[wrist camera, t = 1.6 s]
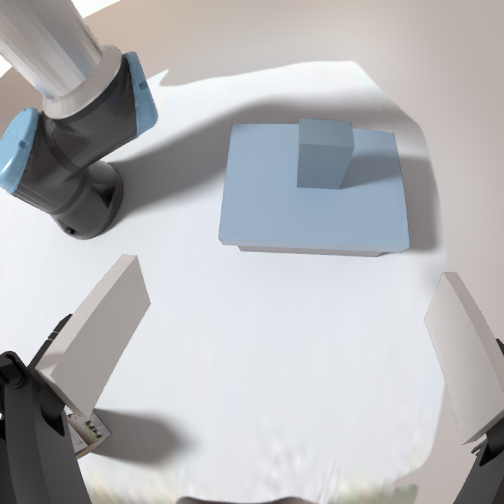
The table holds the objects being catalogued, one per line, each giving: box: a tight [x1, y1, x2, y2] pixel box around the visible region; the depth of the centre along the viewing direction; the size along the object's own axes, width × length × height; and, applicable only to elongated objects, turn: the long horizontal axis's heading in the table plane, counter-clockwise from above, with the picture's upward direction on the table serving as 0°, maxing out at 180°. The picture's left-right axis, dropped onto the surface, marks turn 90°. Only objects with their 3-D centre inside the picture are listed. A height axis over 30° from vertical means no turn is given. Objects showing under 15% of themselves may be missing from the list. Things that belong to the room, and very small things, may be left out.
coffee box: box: [67, 411, 111, 459], centre depth 29 cm, size 9×6×16 cm
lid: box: [218, 118, 410, 253], centre depth 29 cm, size 22×16×12 cm
